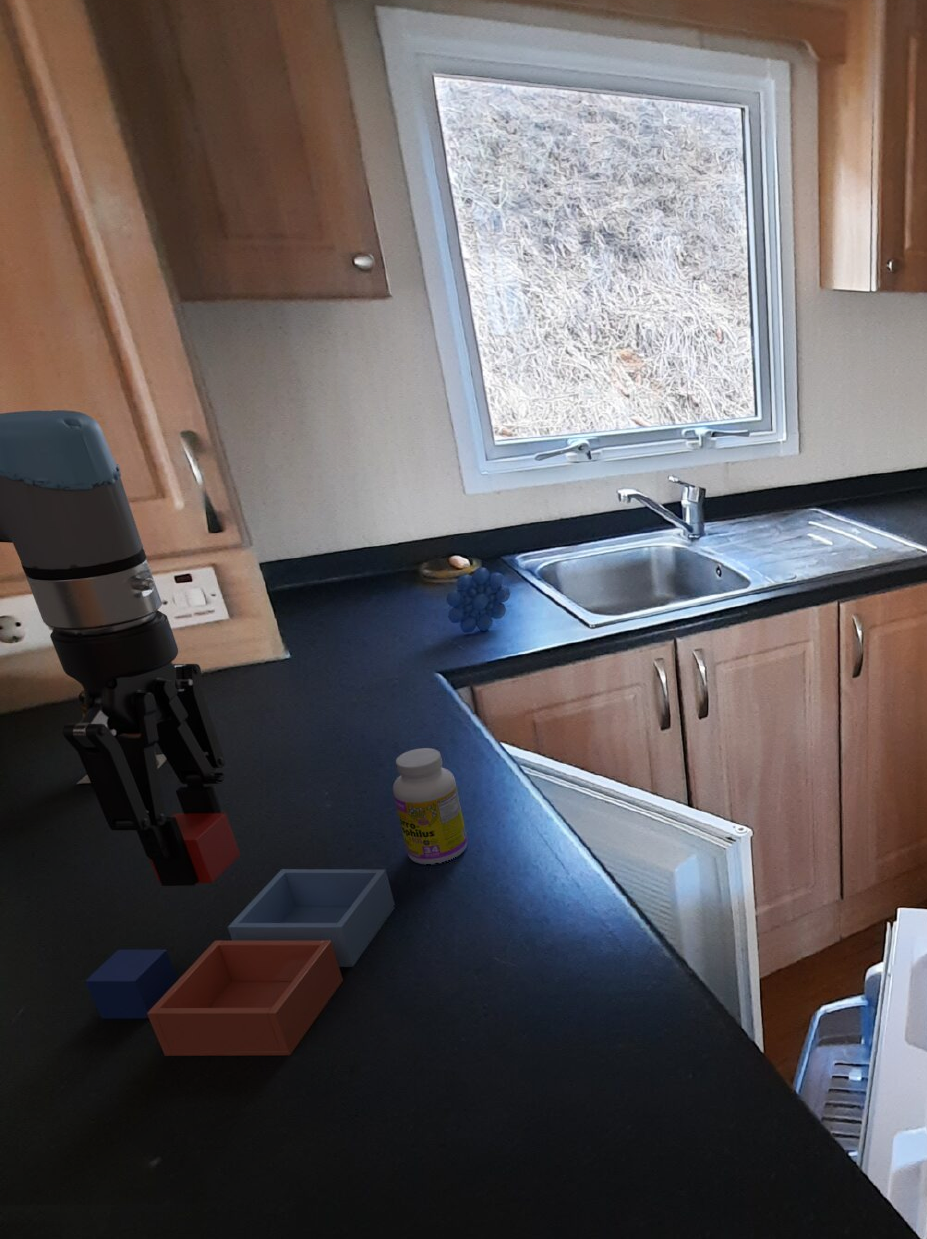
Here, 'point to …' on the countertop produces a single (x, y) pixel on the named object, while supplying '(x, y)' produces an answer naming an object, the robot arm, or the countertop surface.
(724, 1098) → the countertop surface
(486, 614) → the blue sphere cluster
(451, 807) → the supplement bottle
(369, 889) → the blue bin
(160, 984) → the blue block
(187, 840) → the red block
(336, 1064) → the countertop surface
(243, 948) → the red bin
